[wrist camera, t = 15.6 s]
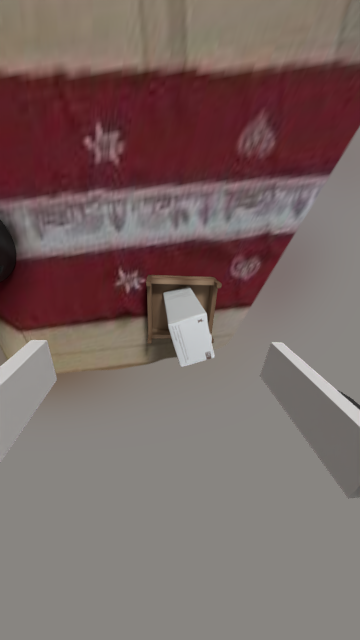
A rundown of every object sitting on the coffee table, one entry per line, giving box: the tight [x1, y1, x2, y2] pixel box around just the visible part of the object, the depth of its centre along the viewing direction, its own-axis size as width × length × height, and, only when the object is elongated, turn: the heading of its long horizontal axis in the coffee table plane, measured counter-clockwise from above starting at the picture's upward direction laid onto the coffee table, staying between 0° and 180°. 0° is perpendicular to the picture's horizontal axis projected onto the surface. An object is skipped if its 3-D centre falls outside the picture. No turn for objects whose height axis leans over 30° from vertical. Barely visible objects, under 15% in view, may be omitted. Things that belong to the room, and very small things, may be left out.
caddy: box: [146, 275, 222, 344], centre depth 38 cm, size 14×13×6 cm
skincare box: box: [163, 286, 215, 367], centre depth 33 cm, size 8×6×15 cm
